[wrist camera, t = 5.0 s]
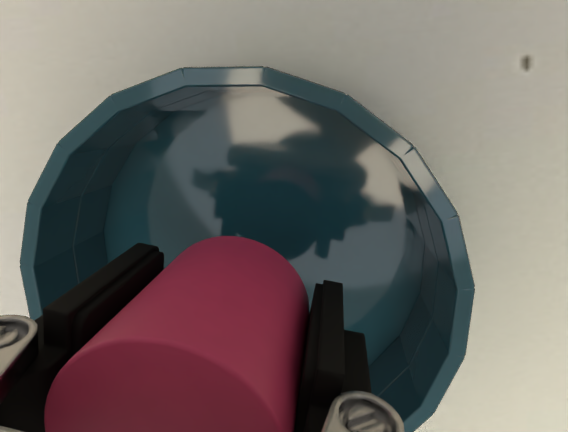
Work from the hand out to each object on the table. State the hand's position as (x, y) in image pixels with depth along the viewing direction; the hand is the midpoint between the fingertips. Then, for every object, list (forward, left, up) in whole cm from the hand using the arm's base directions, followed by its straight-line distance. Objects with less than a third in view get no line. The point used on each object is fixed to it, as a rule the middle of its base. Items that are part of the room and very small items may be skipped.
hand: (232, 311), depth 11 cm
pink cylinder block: (0, 0, 0) cm, 0 cm away
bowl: (0, 0, -5) cm, 5 cm away
